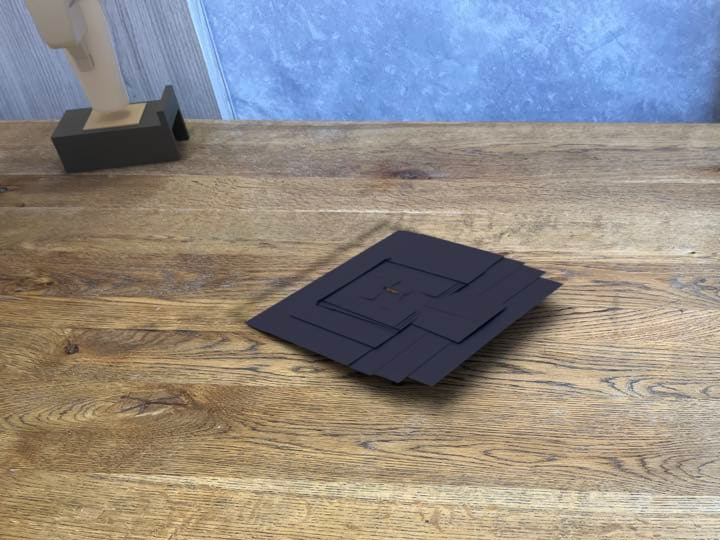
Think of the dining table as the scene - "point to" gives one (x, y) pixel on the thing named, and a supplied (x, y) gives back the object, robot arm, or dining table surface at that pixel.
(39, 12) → the robot arm
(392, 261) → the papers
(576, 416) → the dining table surface
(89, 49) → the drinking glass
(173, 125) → the dark box with label
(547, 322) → the dining table surface
